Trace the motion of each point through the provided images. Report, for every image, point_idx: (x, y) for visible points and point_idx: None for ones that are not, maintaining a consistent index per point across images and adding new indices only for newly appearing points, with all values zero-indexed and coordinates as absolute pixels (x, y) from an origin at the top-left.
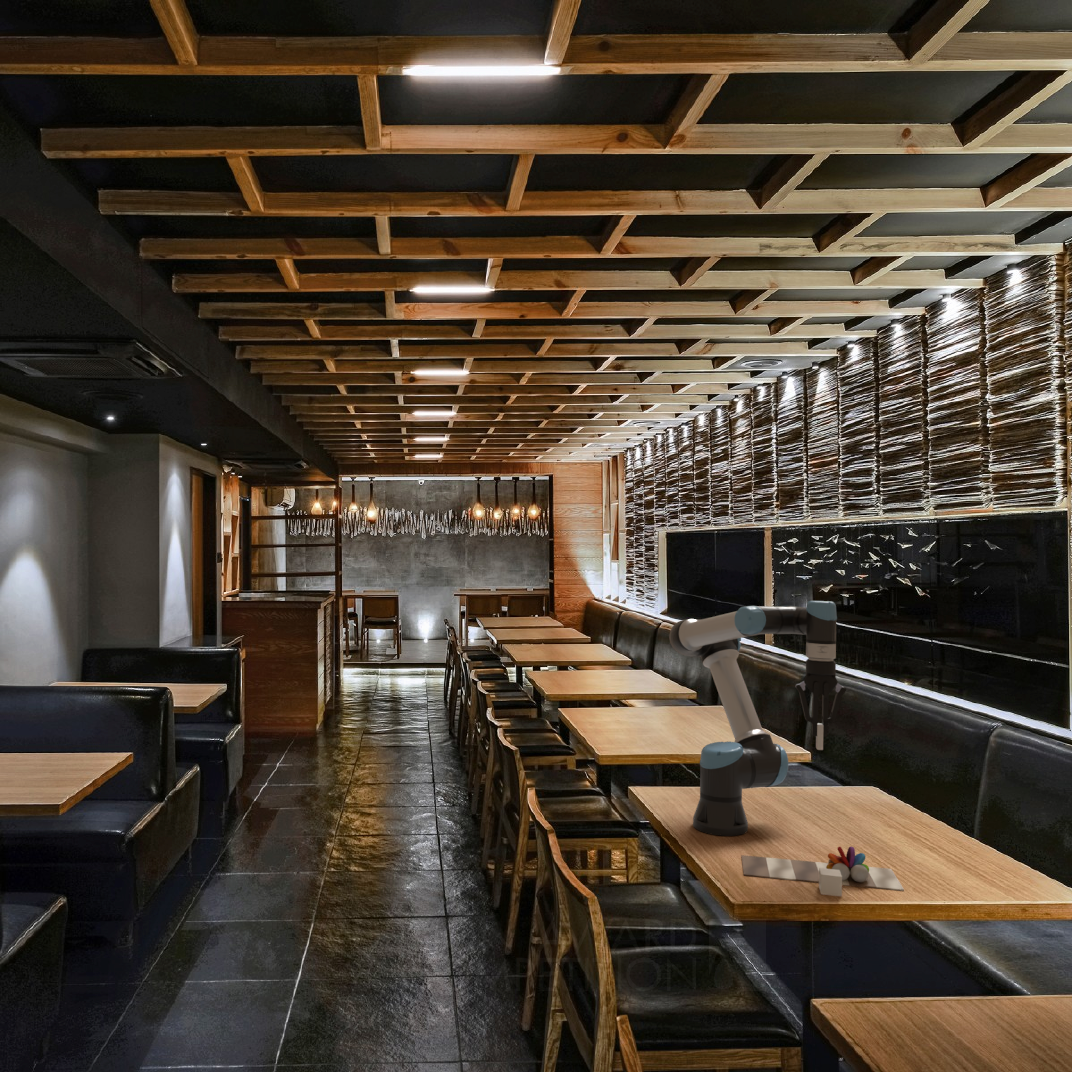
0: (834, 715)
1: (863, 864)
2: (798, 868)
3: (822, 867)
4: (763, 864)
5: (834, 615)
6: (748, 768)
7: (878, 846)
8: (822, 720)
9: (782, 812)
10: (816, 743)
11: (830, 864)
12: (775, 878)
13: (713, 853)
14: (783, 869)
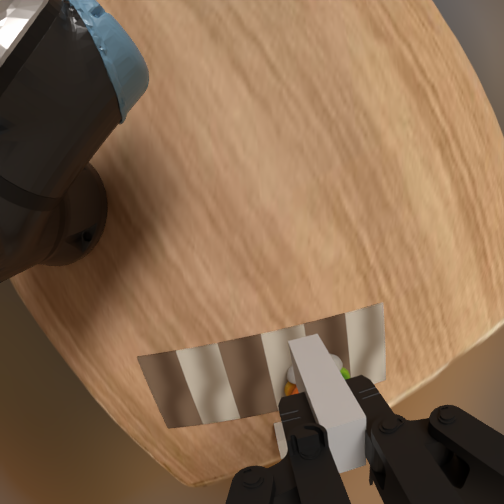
0: (462, 479)
1: (343, 376)
2: (237, 378)
3: (274, 355)
4: (181, 384)
5: None
6: (34, 221)
7: (368, 170)
8: (375, 447)
9: (161, 22)
10: (296, 372)
11: (291, 392)
12: (211, 422)
13: (96, 359)
14: (215, 391)
